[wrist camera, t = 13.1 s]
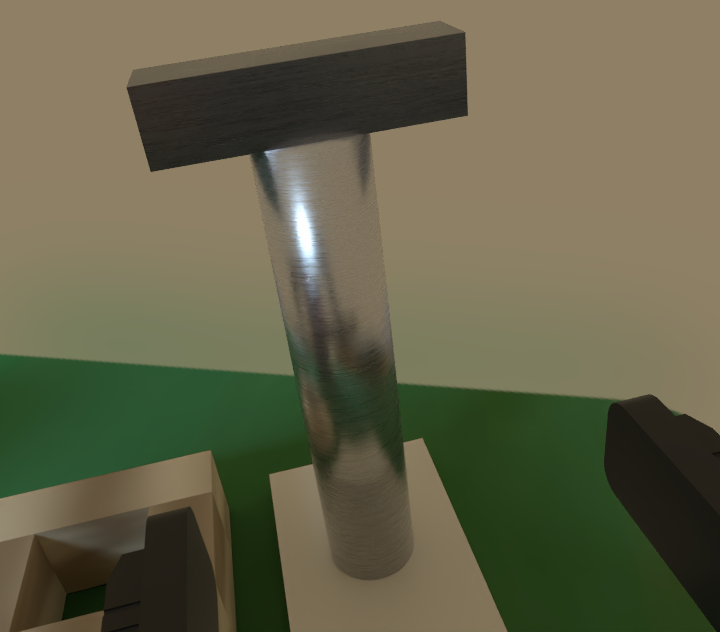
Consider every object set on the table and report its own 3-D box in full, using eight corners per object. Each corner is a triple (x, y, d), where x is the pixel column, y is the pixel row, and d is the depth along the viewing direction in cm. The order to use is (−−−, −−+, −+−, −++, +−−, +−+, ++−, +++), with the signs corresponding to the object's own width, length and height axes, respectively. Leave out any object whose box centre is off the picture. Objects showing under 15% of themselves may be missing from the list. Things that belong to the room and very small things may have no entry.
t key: (272, 606, 24) (124, 92, 15) (265, 537, 27) (135, 65, 18) (486, 551, 25) (473, 35, 16) (458, 490, 28) (433, 18, 19)
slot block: (-46, 790, 21) (-98, 731, 20) (17, 560, 29) (-16, 502, 27) (241, 711, 22) (217, 647, 21) (229, 509, 30) (210, 450, 28)
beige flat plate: (303, 709, 22) (298, 692, 22) (273, 490, 31) (269, 474, 30) (508, 652, 23) (508, 634, 22) (423, 454, 31) (422, 438, 31)
